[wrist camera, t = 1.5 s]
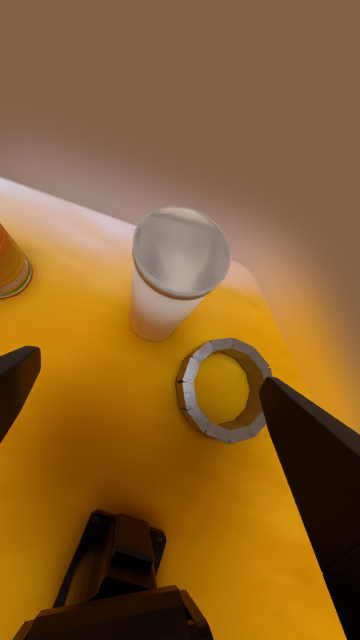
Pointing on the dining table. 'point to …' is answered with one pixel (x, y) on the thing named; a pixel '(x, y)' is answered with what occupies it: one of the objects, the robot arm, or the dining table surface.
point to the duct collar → (253, 414)
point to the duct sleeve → (174, 268)
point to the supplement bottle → (12, 266)
